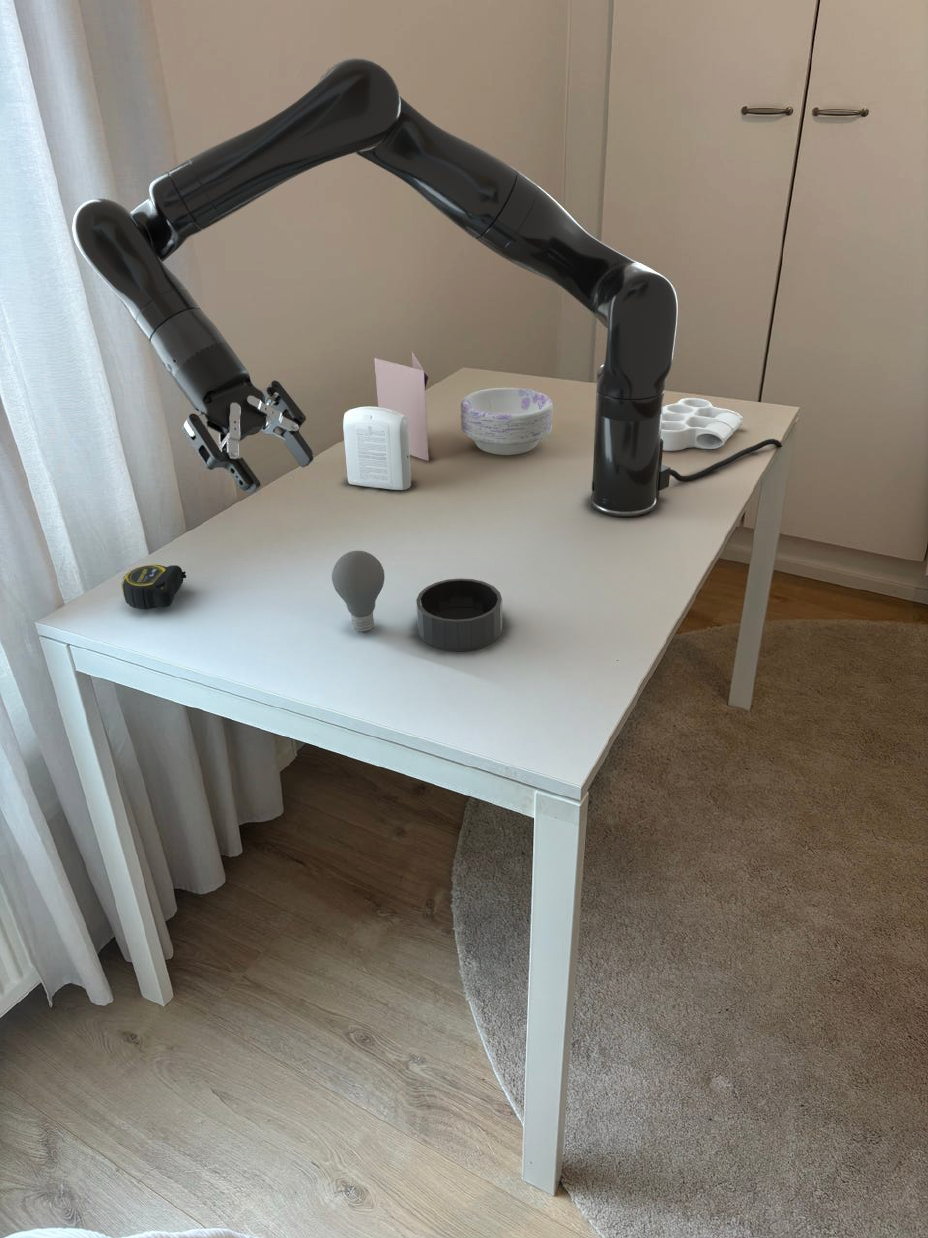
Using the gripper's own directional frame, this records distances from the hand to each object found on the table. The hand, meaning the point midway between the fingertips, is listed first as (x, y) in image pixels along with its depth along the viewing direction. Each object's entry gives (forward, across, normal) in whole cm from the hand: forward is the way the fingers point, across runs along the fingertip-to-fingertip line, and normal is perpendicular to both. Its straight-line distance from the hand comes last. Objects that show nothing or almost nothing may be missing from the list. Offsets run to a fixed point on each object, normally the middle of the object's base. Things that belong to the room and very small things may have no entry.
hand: (282, 476), depth 110 cm
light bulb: (+20, -1, +3) cm, 20 cm away
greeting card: (0, +46, +27) cm, 53 cm away
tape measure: (+2, -10, +22) cm, 24 cm away
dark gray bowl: (+26, +5, -4) cm, 27 cm away
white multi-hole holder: (+25, +77, 0) cm, 81 cm away
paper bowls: (+9, +56, +18) cm, 60 cm away
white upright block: (+3, +32, +23) cm, 40 cm away
